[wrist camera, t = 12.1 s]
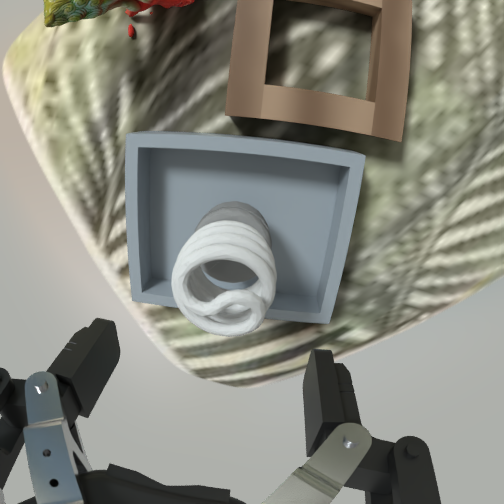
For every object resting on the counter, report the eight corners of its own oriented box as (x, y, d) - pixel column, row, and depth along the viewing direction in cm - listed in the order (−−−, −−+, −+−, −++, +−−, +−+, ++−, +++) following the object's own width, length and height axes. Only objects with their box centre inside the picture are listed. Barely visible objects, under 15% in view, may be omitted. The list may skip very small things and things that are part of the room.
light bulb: (281, 200, 25) (296, 275, 14) (259, 261, 27) (257, 363, 16) (212, 179, 24) (170, 238, 13) (195, 243, 26) (153, 334, 16)
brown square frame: (400, 1, 18) (411, -8, 15) (389, 139, 23) (401, 142, 21) (245, -27, 18) (243, -40, 15) (229, 115, 23) (224, 115, 21)
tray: (353, 150, 23) (365, 155, 20) (323, 301, 29) (329, 323, 26) (143, 131, 24) (126, 133, 20) (145, 281, 29) (132, 300, 26)
